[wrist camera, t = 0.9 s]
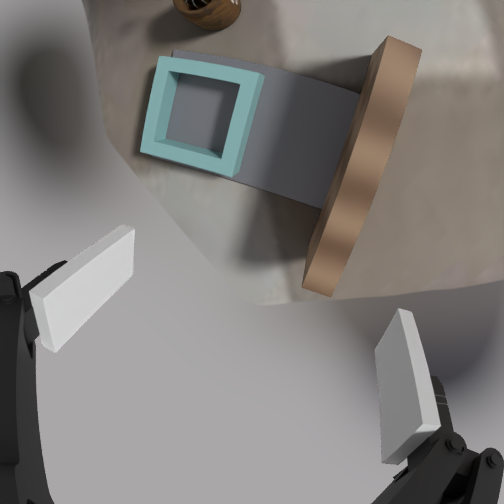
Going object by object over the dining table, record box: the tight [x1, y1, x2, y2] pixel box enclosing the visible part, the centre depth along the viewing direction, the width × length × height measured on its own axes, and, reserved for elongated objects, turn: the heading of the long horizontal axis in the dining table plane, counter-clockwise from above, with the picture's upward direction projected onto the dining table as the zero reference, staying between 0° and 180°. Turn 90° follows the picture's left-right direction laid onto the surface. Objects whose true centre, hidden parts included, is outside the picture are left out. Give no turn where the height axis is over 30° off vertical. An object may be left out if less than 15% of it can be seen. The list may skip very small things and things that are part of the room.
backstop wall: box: [302, 35, 422, 297], centre depth 29 cm, size 24×3×10 cm, turn 165°
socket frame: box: [140, 56, 265, 177], centre depth 33 cm, size 12×12×3 cm
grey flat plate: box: [151, 50, 360, 209], centre depth 35 cm, size 14×22×1 cm, turn 75°
